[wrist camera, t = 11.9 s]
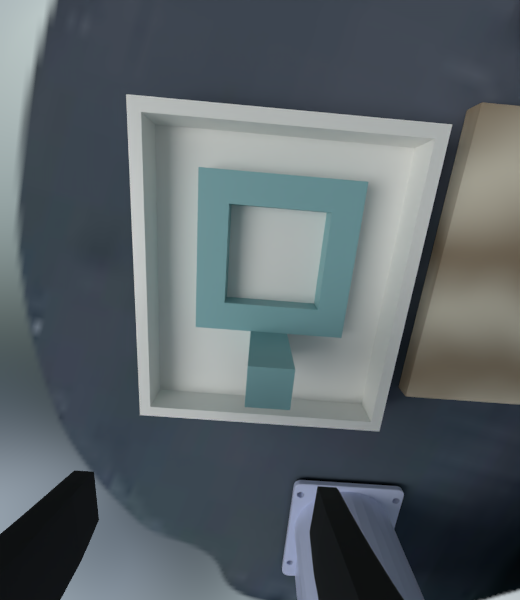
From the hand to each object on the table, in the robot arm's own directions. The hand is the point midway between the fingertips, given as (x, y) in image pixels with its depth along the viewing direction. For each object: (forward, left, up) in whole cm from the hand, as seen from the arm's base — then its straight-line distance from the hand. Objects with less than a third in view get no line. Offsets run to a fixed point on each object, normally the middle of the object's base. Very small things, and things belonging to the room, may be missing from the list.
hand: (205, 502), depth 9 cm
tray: (+6, -2, -9) cm, 11 cm away
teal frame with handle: (+6, -2, -9) cm, 11 cm away
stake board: (+7, -17, -9) cm, 21 cm away
